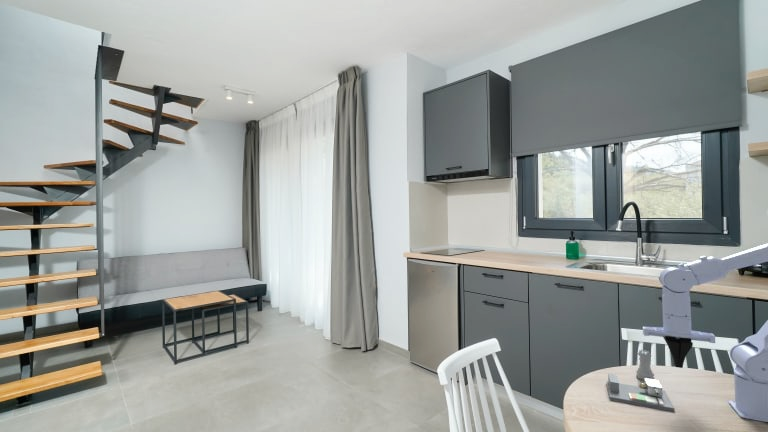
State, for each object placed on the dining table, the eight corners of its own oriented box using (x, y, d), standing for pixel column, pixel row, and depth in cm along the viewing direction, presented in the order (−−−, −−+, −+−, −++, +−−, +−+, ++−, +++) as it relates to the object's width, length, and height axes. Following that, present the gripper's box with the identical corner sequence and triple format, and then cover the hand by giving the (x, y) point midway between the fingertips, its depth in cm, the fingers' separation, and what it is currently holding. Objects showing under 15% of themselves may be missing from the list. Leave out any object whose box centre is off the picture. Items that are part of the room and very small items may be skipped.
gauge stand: (665, 393, 95) (664, 381, 95) (674, 411, 87) (674, 398, 87) (606, 383, 102) (606, 372, 102) (609, 399, 93) (609, 387, 93)
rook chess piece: (641, 381, 103) (640, 354, 103) (632, 374, 107) (632, 348, 107) (658, 382, 102) (657, 354, 102) (648, 375, 107) (647, 348, 107)
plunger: (658, 389, 96) (658, 380, 96) (665, 402, 89) (665, 393, 89) (638, 386, 98) (637, 376, 98) (643, 399, 91) (643, 389, 91)
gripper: (707, 313, 92) (709, 365, 92) (640, 307, 99) (641, 356, 99) (717, 320, 86) (719, 376, 86) (644, 313, 93) (646, 365, 92)
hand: (678, 366), depth 92 cm, fingers closed
